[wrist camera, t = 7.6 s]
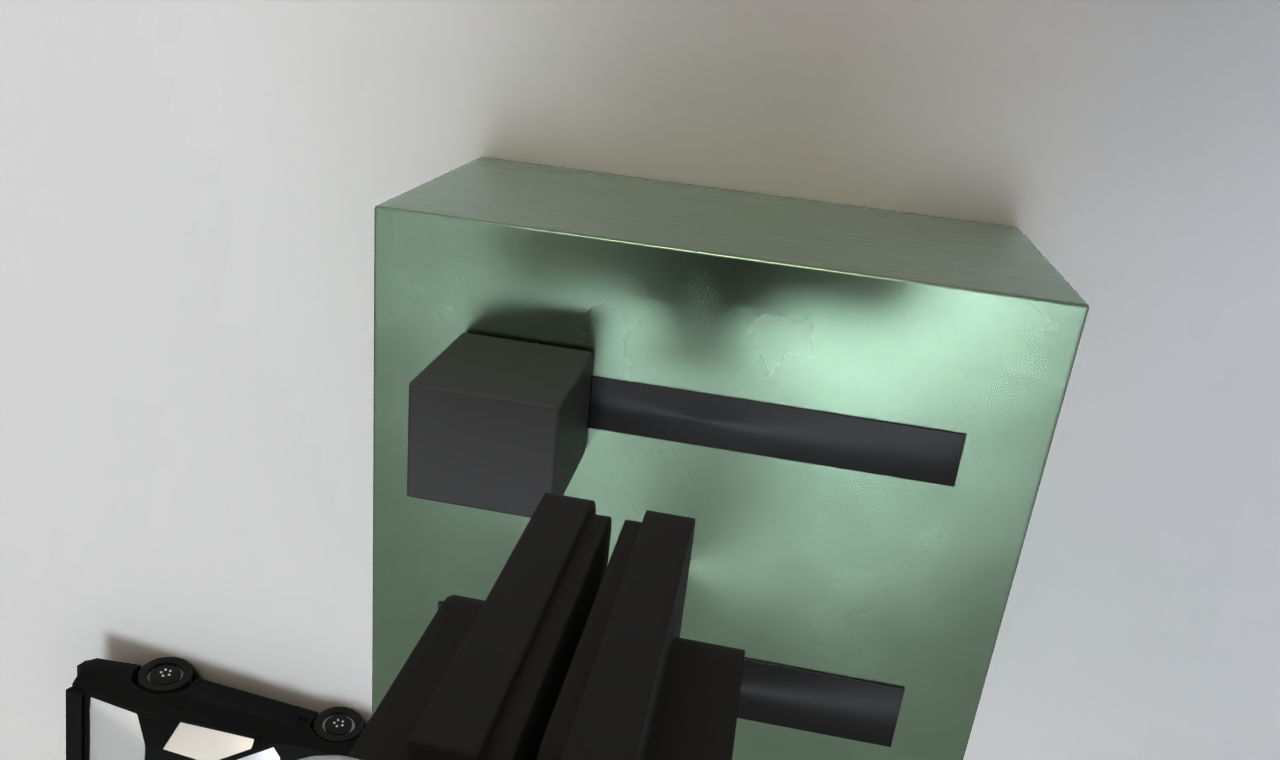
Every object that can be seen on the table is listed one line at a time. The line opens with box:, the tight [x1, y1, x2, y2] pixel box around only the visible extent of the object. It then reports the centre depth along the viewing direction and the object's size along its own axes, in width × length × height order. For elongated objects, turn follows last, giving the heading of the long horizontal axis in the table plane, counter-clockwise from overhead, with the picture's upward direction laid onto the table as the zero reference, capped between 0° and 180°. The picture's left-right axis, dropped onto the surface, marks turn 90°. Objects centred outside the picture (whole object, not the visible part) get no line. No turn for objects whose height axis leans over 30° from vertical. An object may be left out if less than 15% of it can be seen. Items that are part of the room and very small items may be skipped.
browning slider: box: [407, 333, 594, 518], centre depth 17 cm, size 2×2×3 cm
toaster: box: [372, 157, 1089, 760], centre depth 22 cm, size 12×12×6 cm
